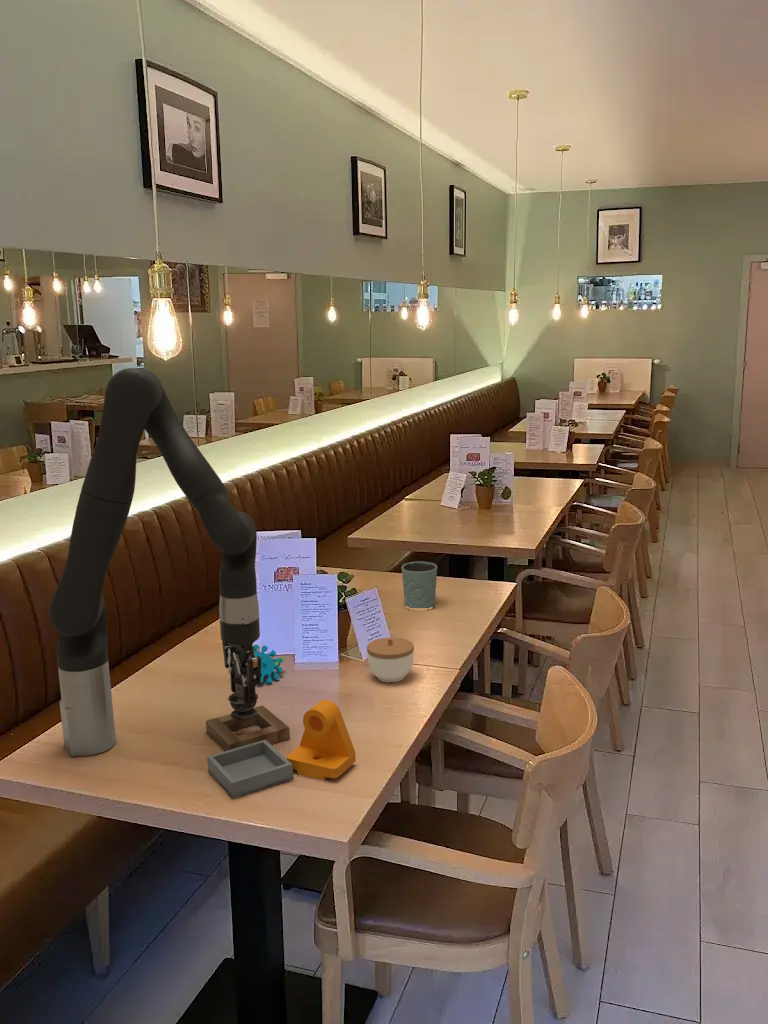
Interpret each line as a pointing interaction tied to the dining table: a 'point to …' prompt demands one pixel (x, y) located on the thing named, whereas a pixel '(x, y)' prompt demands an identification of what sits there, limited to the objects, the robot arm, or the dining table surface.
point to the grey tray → (249, 768)
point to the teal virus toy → (269, 664)
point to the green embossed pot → (419, 584)
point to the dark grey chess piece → (241, 700)
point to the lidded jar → (390, 658)
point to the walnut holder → (265, 719)
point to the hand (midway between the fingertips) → (243, 696)
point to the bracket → (323, 743)
